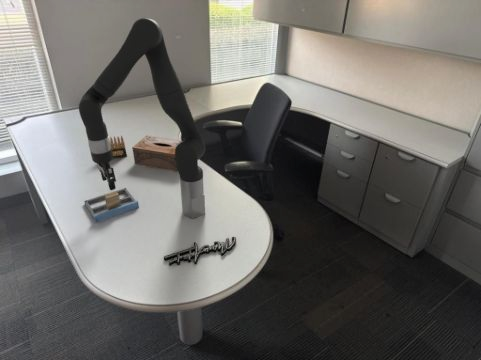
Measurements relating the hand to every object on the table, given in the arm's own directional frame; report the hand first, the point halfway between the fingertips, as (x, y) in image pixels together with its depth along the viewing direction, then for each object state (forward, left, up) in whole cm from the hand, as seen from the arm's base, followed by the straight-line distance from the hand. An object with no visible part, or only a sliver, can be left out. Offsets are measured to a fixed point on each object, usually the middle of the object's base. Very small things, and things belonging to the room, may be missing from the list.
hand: (109, 184), depth 135 cm
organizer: (+4, 0, -13) cm, 14 cm away
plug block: (0, 0, -13) cm, 13 cm away
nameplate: (-41, -18, -14) cm, 47 cm away
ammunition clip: (+44, -16, -13) cm, 49 cm away
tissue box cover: (+26, -35, -14) cm, 46 cm away
